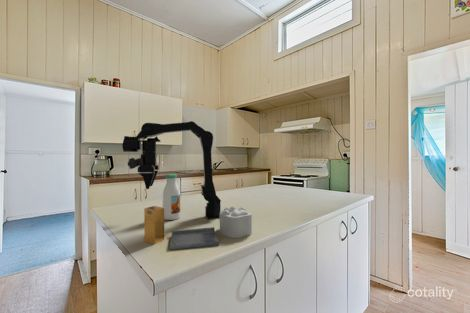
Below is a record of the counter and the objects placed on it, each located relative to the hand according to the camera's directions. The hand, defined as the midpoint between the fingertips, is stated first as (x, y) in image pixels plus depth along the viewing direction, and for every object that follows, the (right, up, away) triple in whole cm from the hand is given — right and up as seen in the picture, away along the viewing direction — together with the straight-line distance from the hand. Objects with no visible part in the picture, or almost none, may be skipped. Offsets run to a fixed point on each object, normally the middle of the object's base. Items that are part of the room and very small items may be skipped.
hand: (149, 187), depth 97 cm
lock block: (+11, -15, -23) cm, 29 cm away
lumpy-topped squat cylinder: (+37, -15, -14) cm, 43 cm away
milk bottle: (+9, -15, +4) cm, 18 cm away
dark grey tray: (+24, -14, -23) cm, 36 cm away
